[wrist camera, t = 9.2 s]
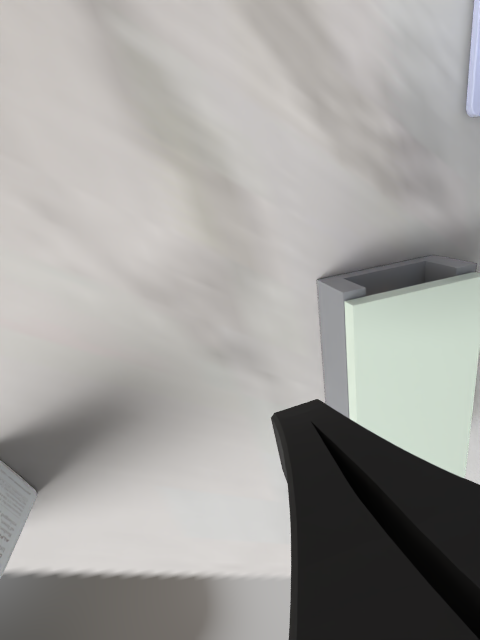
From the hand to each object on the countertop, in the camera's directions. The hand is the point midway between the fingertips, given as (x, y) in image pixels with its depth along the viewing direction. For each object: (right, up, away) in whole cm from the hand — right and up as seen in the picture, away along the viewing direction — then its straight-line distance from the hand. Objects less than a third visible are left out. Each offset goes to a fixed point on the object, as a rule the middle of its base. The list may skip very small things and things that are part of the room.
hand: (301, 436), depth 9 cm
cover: (+8, -1, +10) cm, 13 cm away
